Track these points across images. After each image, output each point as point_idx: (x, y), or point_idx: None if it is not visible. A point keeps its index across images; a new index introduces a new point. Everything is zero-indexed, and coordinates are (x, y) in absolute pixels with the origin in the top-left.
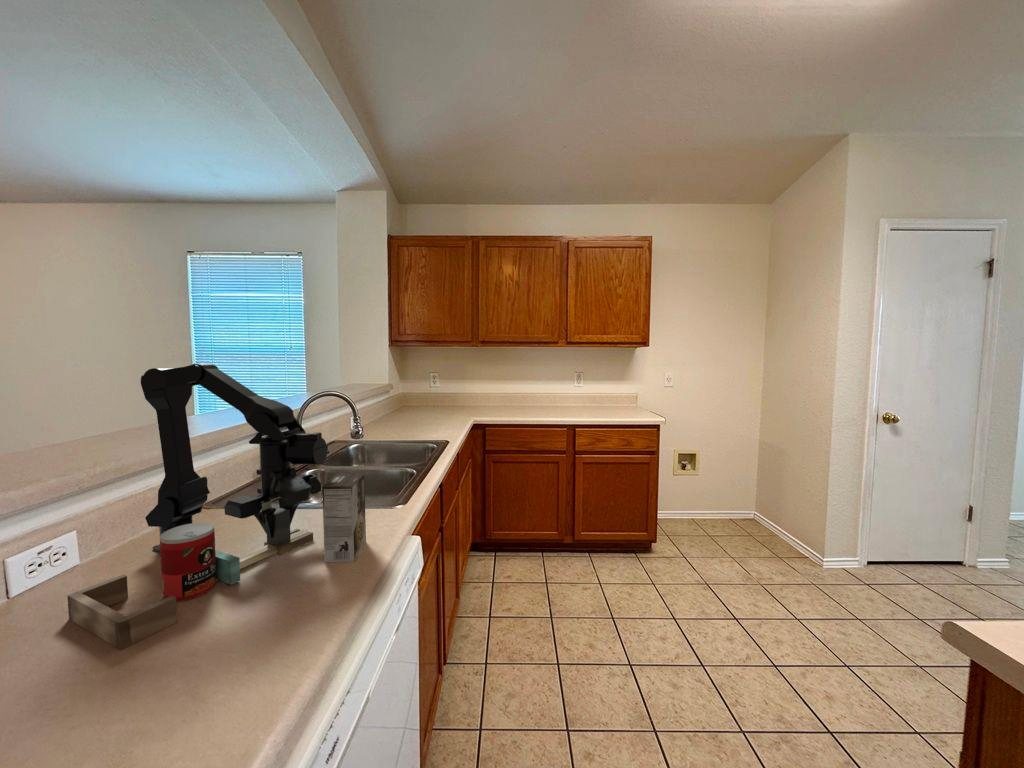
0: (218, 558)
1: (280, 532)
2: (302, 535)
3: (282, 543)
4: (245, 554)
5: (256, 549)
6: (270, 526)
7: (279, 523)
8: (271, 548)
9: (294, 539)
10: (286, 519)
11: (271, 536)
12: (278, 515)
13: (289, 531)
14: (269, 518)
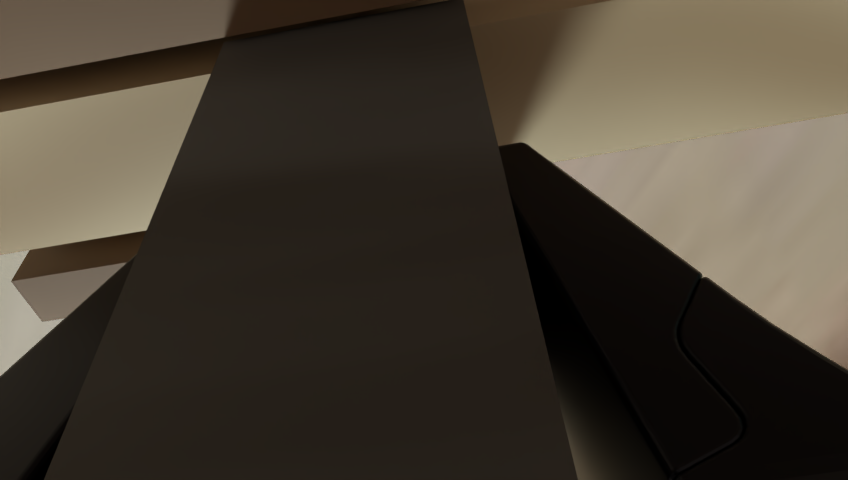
0: None
1: (394, 121)
2: (12, 71)
3: (363, 24)
4: (818, 108)
5: (656, 142)
6: (634, 255)
7: (420, 250)
8: (538, 11)
9: (162, 24)
10: (207, 311)
11: (530, 151)
12: (465, 452)
13: (205, 124)
14: (797, 425)
